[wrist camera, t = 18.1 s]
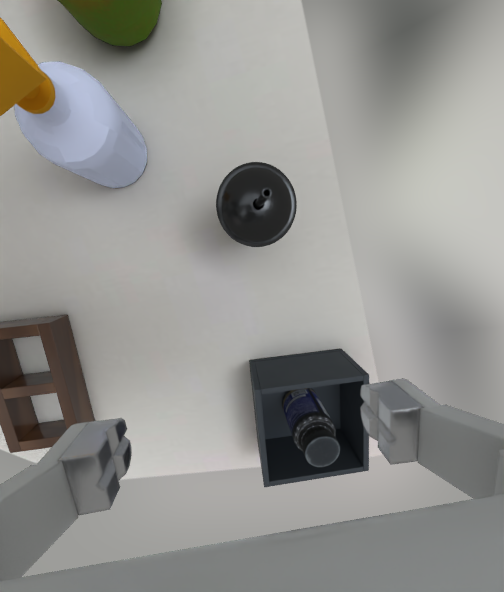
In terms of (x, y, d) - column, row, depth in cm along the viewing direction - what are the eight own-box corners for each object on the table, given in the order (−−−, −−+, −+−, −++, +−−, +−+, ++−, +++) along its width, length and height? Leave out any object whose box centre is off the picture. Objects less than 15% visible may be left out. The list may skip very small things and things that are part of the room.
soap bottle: (116, 99, 33) (-185, -282, 9) (162, 163, 35) (16, -10, 11) (62, 141, 33) (-362, -114, 9) (110, 202, 35) (-138, 118, 11)
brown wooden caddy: (30, 433, 41) (10, 453, 37) (-5, 322, 37) (-33, 331, 33) (95, 424, 42) (82, 442, 38) (67, 314, 38) (49, 322, 34)
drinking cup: (257, 254, 39) (286, 267, 19) (211, 229, 37) (192, 214, 18) (282, 208, 38) (340, 171, 18) (236, 180, 36) (244, 108, 17)
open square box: (257, 441, 45) (264, 487, 37) (249, 359, 42) (254, 390, 33) (342, 428, 46) (368, 470, 38) (341, 348, 43) (369, 374, 34)
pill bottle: (276, 411, 43) (292, 467, 33) (288, 380, 42) (308, 426, 32) (309, 419, 44) (335, 476, 34) (322, 388, 43) (352, 437, 33)
